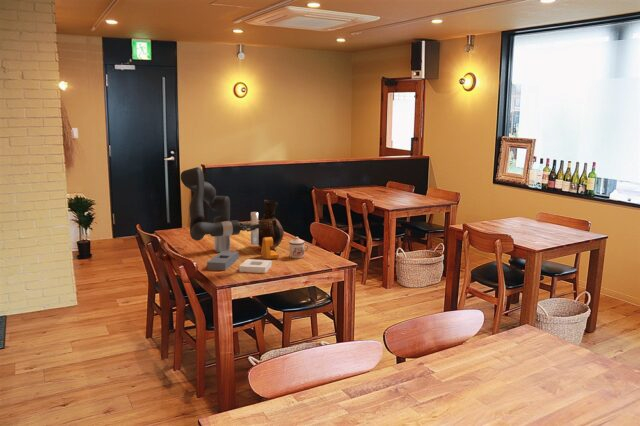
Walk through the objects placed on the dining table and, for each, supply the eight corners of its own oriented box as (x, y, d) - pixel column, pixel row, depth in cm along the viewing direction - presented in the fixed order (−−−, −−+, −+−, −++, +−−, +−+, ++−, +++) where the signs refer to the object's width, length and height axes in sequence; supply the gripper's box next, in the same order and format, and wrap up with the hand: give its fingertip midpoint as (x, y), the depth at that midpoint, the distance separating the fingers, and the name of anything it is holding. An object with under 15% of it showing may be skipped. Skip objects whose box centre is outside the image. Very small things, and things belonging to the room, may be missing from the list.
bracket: (279, 259, 325) (279, 238, 323) (267, 260, 322) (267, 239, 320) (273, 254, 335) (272, 234, 332) (261, 255, 332) (261, 235, 330)
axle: (249, 243, 303) (249, 212, 300) (256, 242, 305) (256, 211, 302) (252, 245, 300) (252, 213, 297) (259, 244, 302) (259, 212, 299)
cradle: (246, 264, 313) (246, 259, 313) (271, 265, 311) (271, 260, 311) (239, 271, 300) (239, 266, 299) (265, 273, 298) (265, 267, 297)
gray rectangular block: (221, 257, 327) (221, 251, 326) (238, 258, 325) (238, 251, 324) (207, 269, 303) (207, 262, 303) (225, 270, 302) (225, 263, 301)
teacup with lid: (292, 259, 324) (292, 239, 322) (286, 255, 332) (286, 236, 330) (311, 257, 329) (311, 237, 327) (305, 253, 337) (305, 234, 335)
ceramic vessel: (247, 246, 353) (247, 199, 347) (272, 243, 362) (272, 196, 357) (263, 254, 335) (263, 204, 330) (289, 250, 345) (289, 201, 339)
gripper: (234, 223, 287) (265, 220, 296) (224, 218, 299) (254, 215, 308) (234, 238, 288) (265, 234, 297) (224, 232, 300) (254, 229, 309)
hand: (259, 225), depth 302 cm, fingers closed on axle, 4 cm apart
